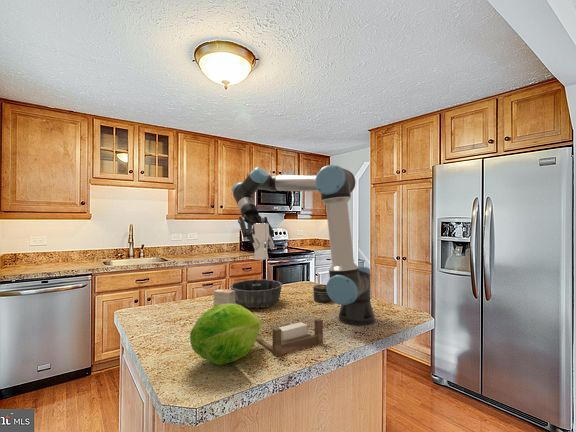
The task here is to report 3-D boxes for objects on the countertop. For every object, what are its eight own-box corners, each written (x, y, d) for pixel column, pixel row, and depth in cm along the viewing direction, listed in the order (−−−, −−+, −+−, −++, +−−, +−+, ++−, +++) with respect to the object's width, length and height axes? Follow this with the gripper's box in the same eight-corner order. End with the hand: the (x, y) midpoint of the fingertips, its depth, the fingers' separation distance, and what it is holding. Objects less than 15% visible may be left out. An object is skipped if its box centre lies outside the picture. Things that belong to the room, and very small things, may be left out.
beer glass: (266, 260, 128) (266, 223, 128) (250, 259, 129) (250, 223, 129) (271, 258, 135) (270, 223, 135) (255, 257, 136) (255, 223, 136)
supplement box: (236, 321, 133) (236, 290, 133) (229, 324, 129) (229, 292, 129) (220, 318, 137) (220, 288, 137) (213, 321, 132) (213, 290, 132)
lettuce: (279, 357, 99) (279, 302, 99) (207, 386, 82) (207, 320, 82) (245, 340, 112) (245, 292, 112) (177, 362, 95) (177, 306, 95)
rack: (246, 337, 115) (246, 312, 115) (289, 328, 125) (289, 305, 125) (275, 359, 97) (275, 330, 97) (322, 346, 107) (322, 320, 107)
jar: (333, 303, 160) (333, 288, 160) (313, 303, 161) (313, 288, 161) (331, 298, 170) (331, 284, 170) (312, 298, 171) (312, 284, 171)
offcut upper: (277, 336, 104) (277, 327, 104) (300, 330, 110) (300, 322, 110) (283, 340, 101) (283, 331, 101) (307, 333, 107) (307, 324, 107)
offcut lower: (274, 346, 104) (274, 337, 104) (303, 338, 111) (303, 330, 111) (280, 350, 101) (280, 341, 101) (310, 342, 107) (310, 333, 107)
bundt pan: (241, 315, 142) (241, 292, 142) (223, 301, 165) (223, 282, 165) (291, 306, 155) (291, 286, 155) (268, 295, 178) (268, 277, 178)
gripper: (264, 215, 150) (282, 252, 137) (225, 215, 140) (240, 255, 126) (269, 203, 146) (288, 241, 132) (230, 202, 136) (245, 243, 122)
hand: (265, 247), depth 129 cm, fingers closed on beer glass, 7 cm apart
